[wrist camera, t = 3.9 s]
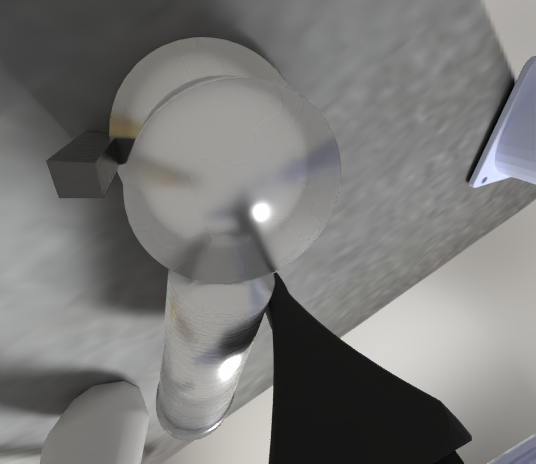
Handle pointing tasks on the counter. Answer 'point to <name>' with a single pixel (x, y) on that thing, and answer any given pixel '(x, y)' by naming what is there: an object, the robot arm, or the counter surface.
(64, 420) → the salt shaker
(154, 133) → the elbow
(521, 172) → the robot arm
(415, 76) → the counter surface
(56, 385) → the counter surface
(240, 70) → the duct stub
